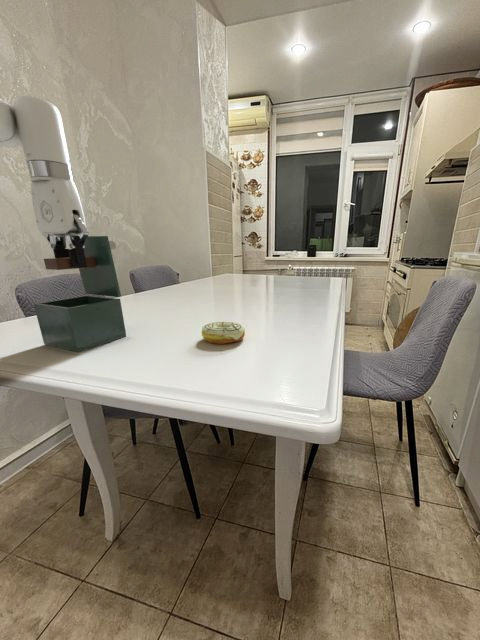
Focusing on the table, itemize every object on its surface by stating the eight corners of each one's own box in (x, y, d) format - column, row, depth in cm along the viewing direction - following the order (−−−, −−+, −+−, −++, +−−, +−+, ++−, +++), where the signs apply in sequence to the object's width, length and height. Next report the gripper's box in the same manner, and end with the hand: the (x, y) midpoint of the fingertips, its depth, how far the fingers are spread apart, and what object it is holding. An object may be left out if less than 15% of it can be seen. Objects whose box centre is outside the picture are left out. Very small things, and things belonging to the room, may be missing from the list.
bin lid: (104, 236, 66) (123, 235, 70) (69, 236, 70) (89, 235, 75) (118, 297, 71) (135, 292, 76) (85, 293, 76) (103, 289, 80)
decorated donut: (245, 345, 69) (245, 329, 68) (200, 346, 68) (199, 331, 67) (244, 332, 79) (243, 318, 78) (204, 333, 78) (203, 319, 77)
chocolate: (84, 266, 71) (82, 256, 70) (96, 267, 69) (94, 257, 68) (45, 269, 63) (43, 258, 62) (58, 270, 61) (55, 258, 61)
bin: (78, 352, 64) (68, 308, 61) (44, 344, 69) (33, 303, 65) (126, 336, 75) (120, 298, 72) (94, 330, 80) (87, 295, 77)
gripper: (7, 175, 60) (32, 267, 66) (59, 167, 53) (81, 270, 59) (45, 182, 66) (65, 265, 72) (96, 175, 60) (112, 267, 66)
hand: (72, 266), depth 66 cm, fingers closed on chocolate, 4 cm apart
